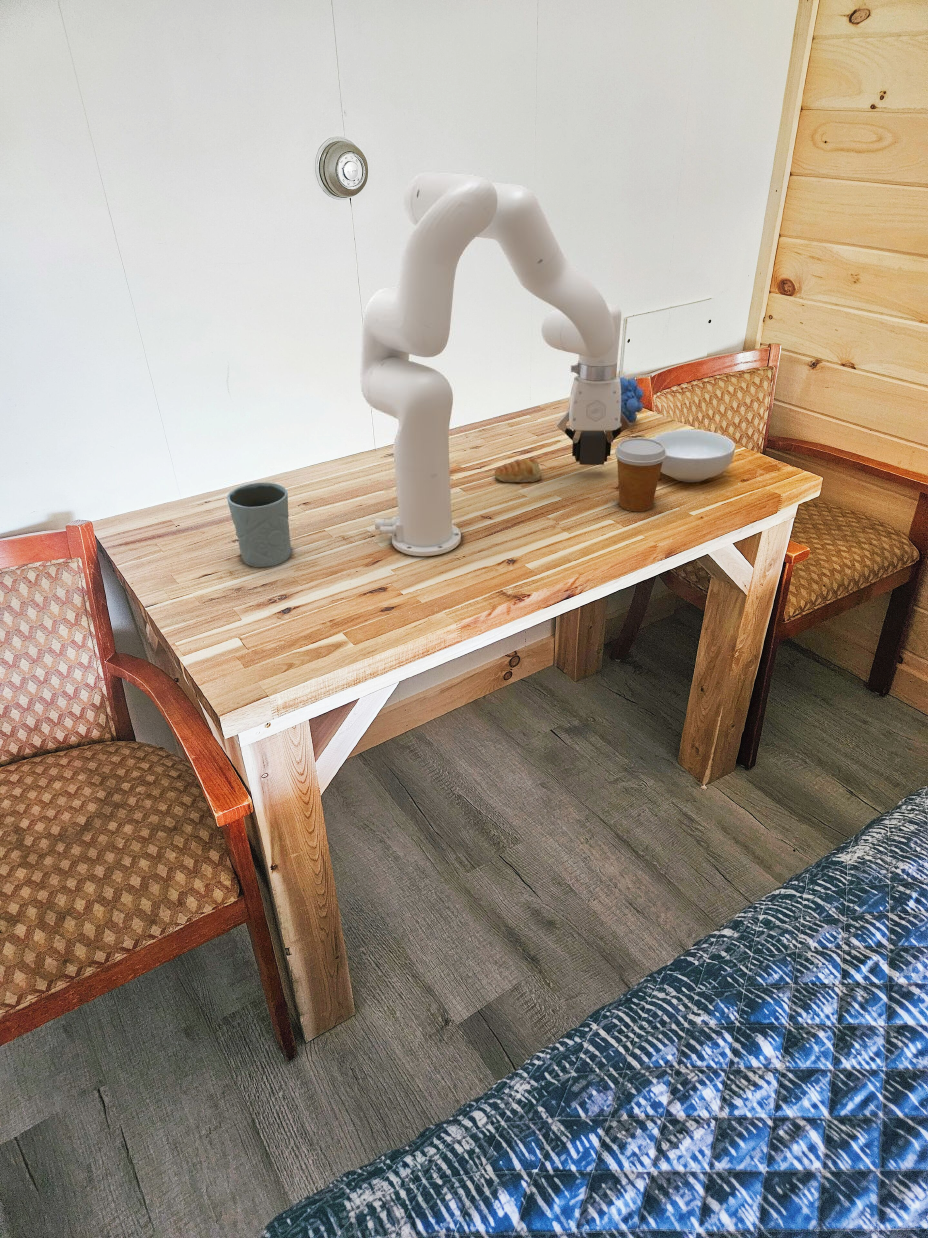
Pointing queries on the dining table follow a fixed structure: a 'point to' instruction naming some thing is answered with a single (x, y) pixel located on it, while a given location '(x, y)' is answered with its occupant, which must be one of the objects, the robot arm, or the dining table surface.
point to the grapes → (630, 399)
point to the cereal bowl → (695, 454)
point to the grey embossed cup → (261, 523)
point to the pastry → (519, 471)
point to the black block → (592, 447)
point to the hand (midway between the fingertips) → (590, 458)
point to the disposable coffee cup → (638, 472)
